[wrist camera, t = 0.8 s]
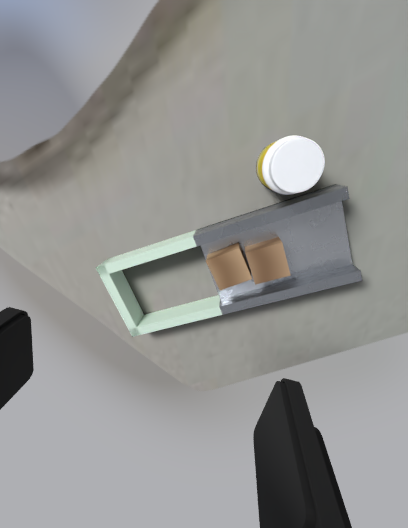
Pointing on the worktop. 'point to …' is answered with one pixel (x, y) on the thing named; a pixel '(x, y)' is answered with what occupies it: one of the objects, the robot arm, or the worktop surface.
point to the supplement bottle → (290, 165)
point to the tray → (127, 301)
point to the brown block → (267, 260)
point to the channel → (288, 247)
